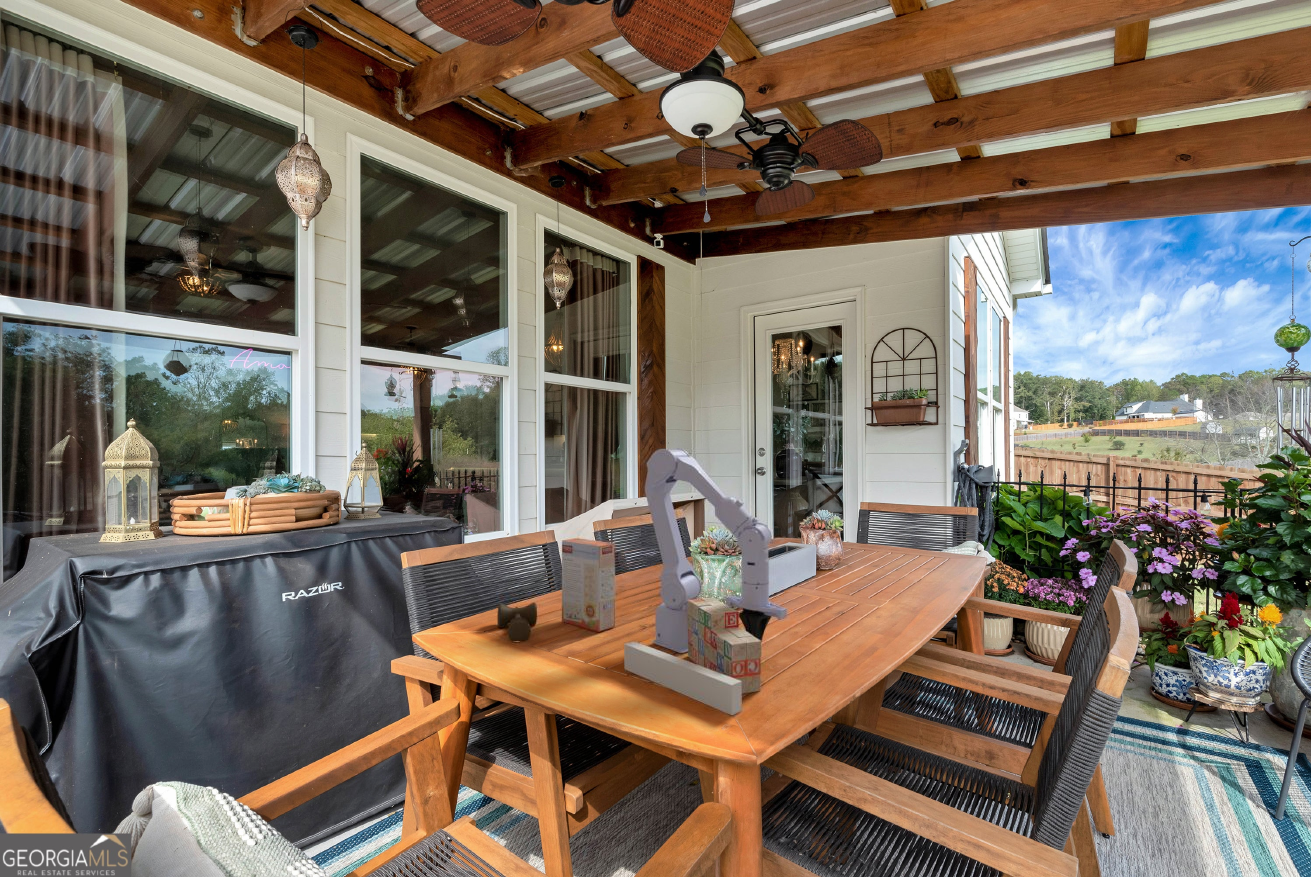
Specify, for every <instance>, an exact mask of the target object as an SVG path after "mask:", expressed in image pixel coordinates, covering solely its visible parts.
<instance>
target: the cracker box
mask: <svg viewBox="0 0 1311 877" xmlns="http://www.w3.org/2000/svg"><path fill="white" fill-rule="evenodd" d="M561 622H562V623H567V624H570V625H574V626H578V627H579V628H583V629H587V630H591V631H594V632H597V633H600V632H603V631H606V630H611V629H613V628H615V627H616V543H613V542H608V541H599V540H594V539H592V540H591V539H586V538H579V537H578V538H577V537H576V538H570V539H564V540H561Z"/></svg>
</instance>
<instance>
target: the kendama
mask: <svg viewBox="0 0 1311 877" xmlns="http://www.w3.org/2000/svg"><path fill="white" fill-rule="evenodd" d="M496 616H497V618H496V619H497V620H496V621H497V627H502V628H503V626H504V627H505V626H507V625H508V630H507V635H508V636H507V637H508V639H509V640H510V641H511V642H513V641H524V642H526V641H528V640H529V638H530V637H531V626H536V625H537V622H538V620H537V619H538V606H537V603H536V602H532V603H530V604H528V605H526V606H523V607H518V606H515V607H510V606H508V605H506V604H505V603H502V602H499V603H498V606H497V615H496ZM530 625H531V626H530ZM525 640H526V641H525Z"/></svg>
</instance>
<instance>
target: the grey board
mask: <svg viewBox="0 0 1311 877" xmlns="http://www.w3.org/2000/svg"><path fill="white" fill-rule="evenodd" d="M623 648H624V649H623V651H624V655H623V656H624V662H623V665H624V670H625V671H628V672H631V673H632V674H635V675H638V676H640V677H642V678H644V679H647V680H648V681H651V682H653V683H656V684H658V685H661V686H663V687H665V688H667V689H670V690H672V691H674V692H677V693H679V694H681V695H683V696H686V697H688V698H690V699H693V700H695V701H697V702H700V703H702V704H705V705H706V706H709V707H712V708H713V709H715V710H718V711H720V712H723V713H725V714H728V715H730V716H734V715H736V714H739V713H740V712H742V711H743V710H742V709H743V708H742V707H743V706H742V703H743V702H742V696H743V694H742V681H740V680H737V679H734V678H732V677H729V676H726V675H724V674H721V673H718V672H716V671H713V670H710V669H707V668H705V667H702V666H699V665H697V664H695V663H694V662H691V661H689V660H686V659H683V658H680V657H677V656H675V655H672V654H670V653H667V652H664V651H662V650H658V649H656V648H653V647H651V646H647V645H646V644H645V645H644V644H643V643H640V642H637V641H634V640H633V641H630V642H626V643H624V644H623Z"/></svg>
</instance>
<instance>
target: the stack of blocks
mask: <svg viewBox="0 0 1311 877" xmlns="http://www.w3.org/2000/svg"><path fill="white" fill-rule="evenodd" d="M687 611H688V615H687V622H688V651H687V656H689V657H690V660H692V663H694V664H695V663H696V664H697V665H699V666H702V667H705V668H707V669H710V670H713V671H716V672H718V673H721V674H724V675H726V676H729V677H732V678H734V679H737V680H740V681H742V695H743V694H746V693H747V694H748V693H749V694H750V693H755V692H760V691H761V685H762V684H761V682H762V680H761V672H762V671H761V669H762V668H761V667H762V666H761V665H762V662H761V658H762V642H761V641H760V640H759V639H757V638H755V637H754V636H753V635H751V634H749V633H748V632H746V630H744V629H743V628H742V627H740V626H739V625H740V622H739V621H740V620H739V619H740V618H739V613H740V612H739V611H738V610H737V609H735V608H732V606H730V607H729V606H728V605H726V603H724V602H722V601H720V600H719V599H717V598H715V597H704V598H703V597H702V598H697V599H692V600H687ZM689 657H688V658H689Z"/></svg>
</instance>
